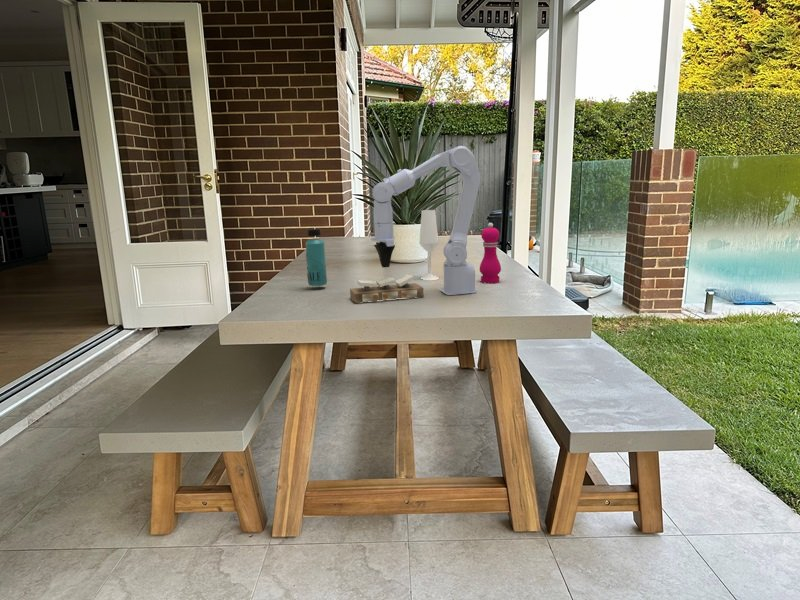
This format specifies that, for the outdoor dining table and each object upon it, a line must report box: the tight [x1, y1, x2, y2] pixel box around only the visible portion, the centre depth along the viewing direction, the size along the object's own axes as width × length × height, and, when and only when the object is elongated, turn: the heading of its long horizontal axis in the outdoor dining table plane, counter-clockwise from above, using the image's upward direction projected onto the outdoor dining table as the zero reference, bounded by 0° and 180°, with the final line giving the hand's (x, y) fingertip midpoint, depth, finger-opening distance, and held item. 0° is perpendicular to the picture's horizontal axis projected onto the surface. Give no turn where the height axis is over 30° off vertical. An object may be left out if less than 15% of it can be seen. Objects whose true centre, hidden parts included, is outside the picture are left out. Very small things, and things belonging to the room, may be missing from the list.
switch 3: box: [395, 273, 415, 287], centre depth 168 cm, size 5×4×1 cm
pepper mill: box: [479, 222, 502, 284], centre depth 185 cm, size 7×7×20 cm
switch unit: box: [349, 282, 424, 304], centre depth 167 cm, size 21×8×4 cm, turn 106°
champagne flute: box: [419, 209, 440, 281], centre depth 193 cm, size 7×7×24 cm
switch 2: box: [375, 276, 397, 287], centre depth 167 cm, size 5×4×1 cm
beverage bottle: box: [305, 228, 328, 287], centre depth 183 cm, size 6×7×20 cm
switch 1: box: [356, 279, 378, 287], centre depth 165 cm, size 5×4×1 cm
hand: (385, 267), depth 170 cm, fingers closed
